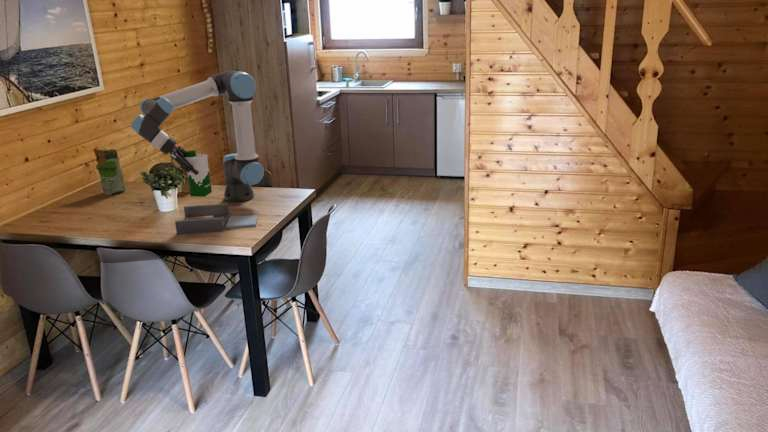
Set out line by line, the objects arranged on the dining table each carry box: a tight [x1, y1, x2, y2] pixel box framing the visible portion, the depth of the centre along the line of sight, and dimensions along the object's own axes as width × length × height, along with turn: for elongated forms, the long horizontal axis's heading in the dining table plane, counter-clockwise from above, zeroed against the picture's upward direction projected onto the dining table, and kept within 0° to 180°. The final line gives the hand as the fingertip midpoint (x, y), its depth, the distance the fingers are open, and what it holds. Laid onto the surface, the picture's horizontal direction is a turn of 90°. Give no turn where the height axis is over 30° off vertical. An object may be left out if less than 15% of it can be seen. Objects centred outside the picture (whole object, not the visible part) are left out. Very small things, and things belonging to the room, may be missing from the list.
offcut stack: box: [185, 215, 215, 220], centre depth 284 cm, size 6×16×5 cm, turn 96°
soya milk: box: [185, 149, 212, 198], centre depth 285 cm, size 9×9×20 cm
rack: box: [174, 202, 230, 236], centre depth 288 cm, size 22×20×6 cm
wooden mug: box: [170, 157, 190, 194], centre depth 340 cm, size 9×14×18 cm, turn 78°
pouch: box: [92, 148, 126, 195], centre depth 340 cm, size 11×12×25 cm
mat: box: [225, 214, 259, 229], centre depth 290 cm, size 13×13×1 cm
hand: (205, 175), depth 286 cm, fingers closed on soya milk, 9 cm apart
